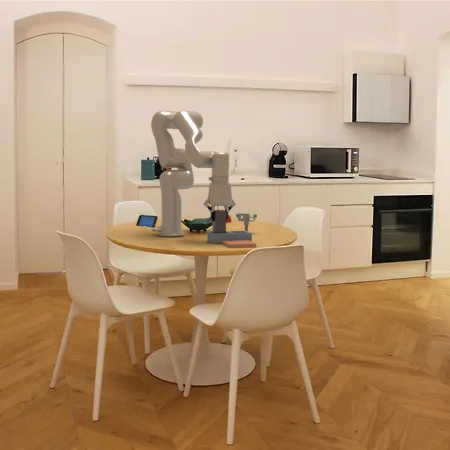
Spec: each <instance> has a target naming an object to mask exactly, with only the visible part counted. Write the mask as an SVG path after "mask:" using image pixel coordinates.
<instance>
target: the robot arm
mask: <svg viewBox="0 0 450 450" xmlns="http://www.w3.org/2000/svg"><path fill="white" fill-rule="evenodd" d="M150 125H151V126H150V127H151V132H152V135H153V137H154V139H155V140H154V141H155V146H156V151H157V156H158V161H159V165H160V166H161V167H162V168H163V169H164V168H165V169H168V170H165V171H163V172H161V174H160V175H159V185H160V192H161V225H160V226H158V227H156V226H155V227H151V231H152V232H158V236H159V237H183V236H185V232H183V231H182V196H181V194H180V192H179V190H189V189H191V188H192V187H193V186H194V182H195V180H194V179H195V178H194V172H193V167H195V168H197V169H211V176H210V177H209V176H208V181H210V183H209V188H208V196H207V198H206V200H205V201H204V202H203V206H205V208H207V209H208V211H209V212H210V219H211V222H212V221H215V212H214V210H216V206H217V207H218V206H219V207H220V206H221V207H222V206H223V208H224V210H226V221H227V219H228V214H229V212H230V211H231V210H232V209H233V208H234V207H235V206H236V205H237V204H236V202H235V201H234V200H233V196H232V184H231V183H230V182H229V181H230V180H229V175H230V174H229V173H230V172H229V171H230V169H229V168H230V154H229V152H226V151H225V152H224V151H223V152H221V151H218V152H217V151H209V150H206V151H205V150H201V151H200V149H199V148H198V146H197V145H196V144H197V143H199V142H200V141H201V140H202V138H203V131H202V130H201V128H202V127H203V125H204V119H203V116H202V114H201V113H200V112H197V111H193V110H192V111H191V110H180V111H176V110H175V111H173V110H159V111H157V112H155V113H154V114H153V115H152V118H151V122H150ZM169 130H178V132H179V133H180V134H181V136H182V137H183V139H184V140H185V146H184V148H176V147H175V142H174V139H173V137H172V134H171V133H170V132H169ZM192 166H193V167H192Z"/></svg>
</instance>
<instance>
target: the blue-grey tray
mask: <svg viewBox="0 0 450 450" xmlns="http://www.w3.org/2000/svg"><path fill="white" fill-rule="evenodd" d="M206 235H207V238H206V239H207V242H208V243H210V244H211V245H223V241H247V240H249V241H251V242H253V240H252V238H253V232H250V231H249V230H248V231H245V230H226V233H214V232H212V230H209V231H207V233H206Z"/></svg>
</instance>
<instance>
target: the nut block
mask: <svg viewBox="0 0 450 450" xmlns="http://www.w3.org/2000/svg"><path fill="white" fill-rule="evenodd" d="M214 212H215V221H212V220H211V224H212V227H211V228H212V229H211V231H212V232H214V233H226V231H227V223H226V210H225V209H214Z"/></svg>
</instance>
